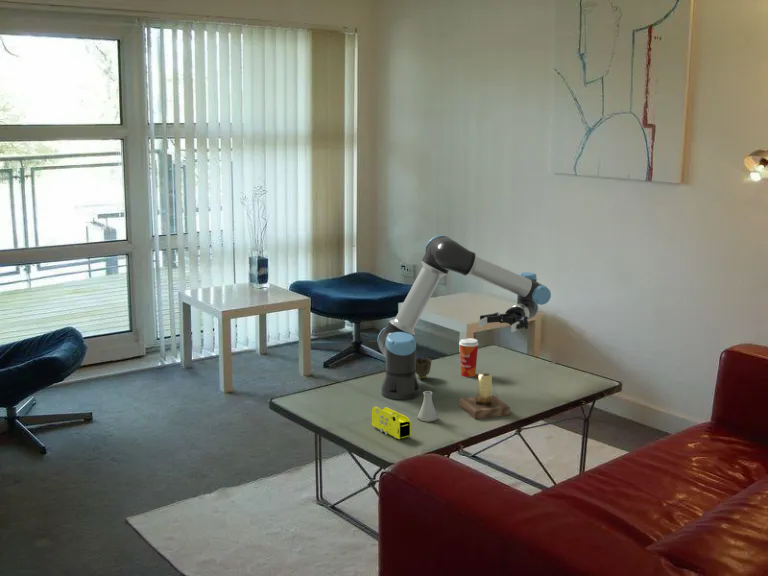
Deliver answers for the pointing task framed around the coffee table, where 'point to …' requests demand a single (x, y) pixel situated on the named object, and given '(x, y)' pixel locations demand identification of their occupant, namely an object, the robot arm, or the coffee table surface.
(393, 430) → the yellow toy chassis
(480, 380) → the cylinder
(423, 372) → the cup
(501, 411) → the jig plate
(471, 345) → the coffee cup
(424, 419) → the flask
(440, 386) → the coffee table surface
